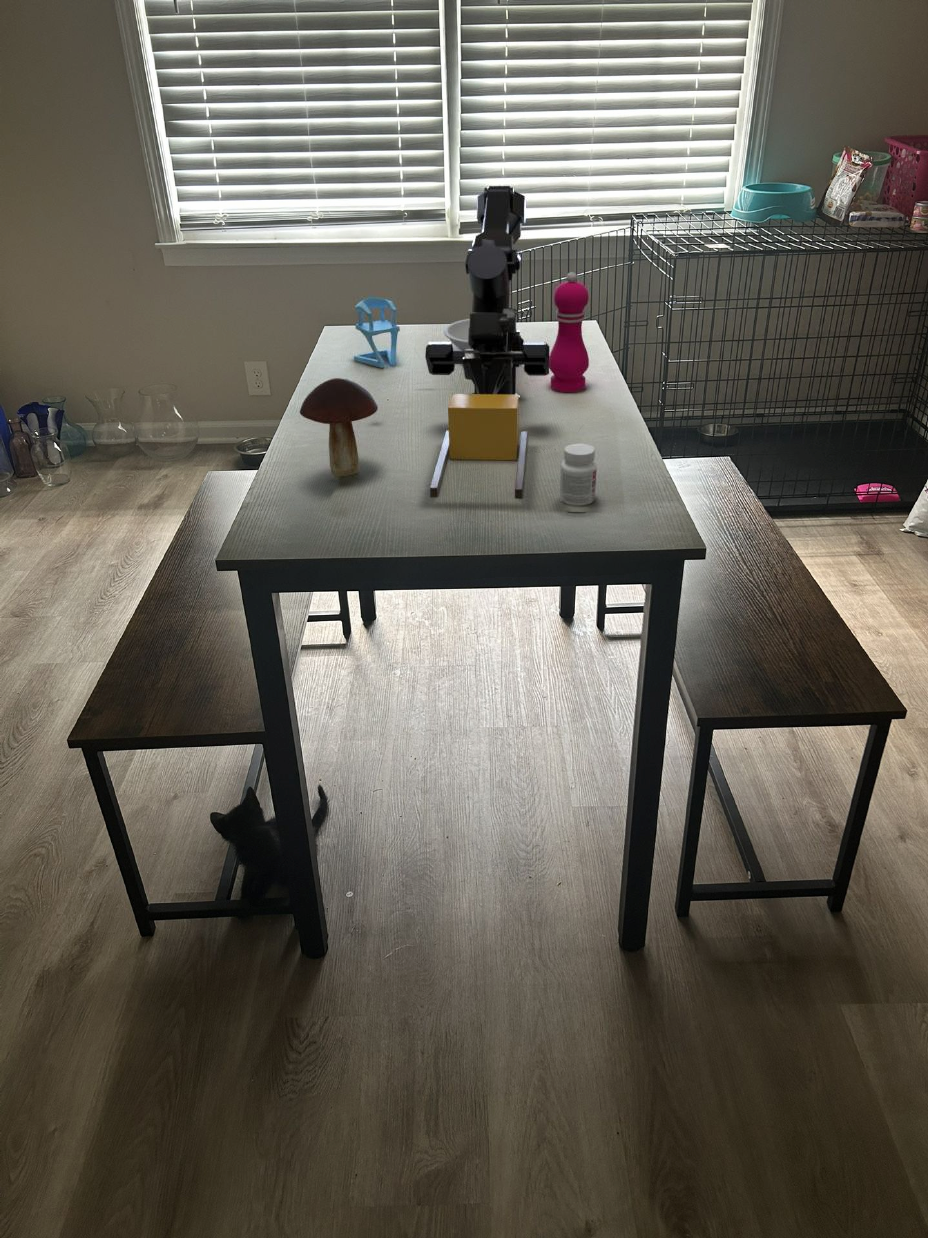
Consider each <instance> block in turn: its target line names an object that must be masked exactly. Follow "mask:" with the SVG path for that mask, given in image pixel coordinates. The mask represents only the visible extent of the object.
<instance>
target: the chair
mask: <svg viewBox="0 0 928 1238" xmlns="http://www.w3.org/2000/svg"><path fill="white" fill-rule="evenodd" d="M386 307H388V308H389V309H390V312H391V313H392V314H391V317H390V321H388V320H387V319H386V317H385V308H386ZM354 308H355V310H356V313H357V315H358V323H355V324H354V326H355V330H357V331H359V332H361V334H362V335H363V336H364V337H365V339H366V341H367V343H368V345H369V346H370V348H371V351H372V352H371V351H370V352H366V353H360V354H355V355H353V361H355V362H358V363H361V364H366V365H370V366H373V367H377V368H380V369H385V361H384V359H383V357H382V356H387V361H388V363H389V364H390V366H393V367H395V366H397V342H398V334H399V332H401V328H400V325H398V324H396V314H397V308H396V307H395V305H394V302H393V301H391V300H389V299H386V298H381V297H376V296H375V297H374V296H369V297H366V298H365V299H363V300H361V301H360V302H358V303H357V304H356V305H355V307H354ZM375 308H376V309H380V311H379V312H380V313H379V314H380V315H379V317H380V319H379V320H375V321H374V320H373V313H372V311H371V310H370V309H375ZM362 312H363V313H364V315H366V317H367V318H368V322H364V316H363V314H362ZM386 333H390V349H382V350H378V348H377V346H376V345H375V342H374V339H373V336H374V337H375V336H379V335H381V334H386ZM374 358H375V359H374Z"/></svg>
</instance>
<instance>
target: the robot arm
mask: <svg viewBox="0 0 928 1238" xmlns="http://www.w3.org/2000/svg"><path fill="white" fill-rule="evenodd" d="M476 220H477V223H478V225H481V232H480V233H479V234H477V235H475V236H474V237H473V242H472V246H471V247H472V248H471V249H468V251H467V255H466V259H465V264H464V265H465V273H466V275H468V277H469V284H470V290H471V294H472V303H471V304H472V305H471V307H472V308H471V313H470V314H469V319H470V327H469V334H468V345H469V346H470V349H464V351H462V350H454V346H453V345H454V344H453V343H452V342H451V341H429V342H428V344H427V345H425V346H426V347H425V354H424V355H425V356H424V358H425V362H426V367H427V370H428V371H427V372H428V374H430V375H432V376H451V374H452V373H454V372H455V367H456V365H462V369H463V374H464V379H465V380H468V381H471V382H472V384H473V385H474V388H473V389H474V392H471V394H510V395H518V394H517V391H516V390H517V389H516V388H517V385H516V384H517V383H516V382H517V368H520V366H523V372H525V374H526V375H528V376H529V377H530V376H531V377H532V376H533V377H535V376H536V377H538V376H539V377H543V376H548V375H550V369H549V356H550V345H549V344H548V343H547V342H546V341H545V342H543V341H542V342H540V341H539V342H538V341H537V342H535V341H532V342H530V341H525V339H524V338H522V334H521V331H520V330H517V331H516V329H517V308H513V307H510V290H511V289H510V288H511V281H512V280H513V277H514V276H513V275H516V274H517V273H518V272H519V270H520V269H521V265H522V264H521V263H522V262H521V261H522V259H521V256H520V255H519V252H518V249H514V246H515V244H516V243H517V242H518V241H519V239H520V238H521V236H522V224H526V195H523V194H522V193H520V192H517V191H515V187H514V186H512V187H511V186H510V185H488V186H487V187H484V189H483V192H482V193H480V194H479V195H477V198H476ZM521 398H522V397H521V395H519V400H521Z"/></svg>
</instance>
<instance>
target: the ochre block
mask: <svg viewBox="0 0 928 1238" xmlns="http://www.w3.org/2000/svg"><path fill="white" fill-rule="evenodd" d="M450 396H451V397H450V400H449V403H448V407H447V421H448V423H447V424H448V431H449V460H467V461H468V460H469V461H471V460H473V461H476V460H477V461H478V460H479V461H480V460H481V461H489V460H490V461H518V455H519V444H520V440H519V437H520V436H519V433H520V432H519V431H520V429H519V427H520V426H519V422H520V421H519V420H520V419H519V418H520V417H519V416H520V399H519V396H520V394H517V395H510V394H472V393H452V394H451V395H450Z"/></svg>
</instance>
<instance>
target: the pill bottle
mask: <svg viewBox="0 0 928 1238" xmlns="http://www.w3.org/2000/svg"><path fill="white" fill-rule="evenodd" d="M595 450H596V449H595V447H594V446H592V445H590V444H586V443H571V444H569V445H566V446H565V447H564V449H563V451H564V452H563V460H562V462H561V465H560V477H559V478H560V479H559V500H560V501H561V502H562V503H564V504H566V505H570V506H576V507H577V506H578V507H579V506H581V507H582V506H587V505H590V504H592V503H593V502H594V501H595V500H596V484H597V469H598V468H597V467H598V466H597V463H596V462H595V457H596V456H595V455H596V454H595ZM568 513H569V514H578V515H579V514H587V513H588V512H587V511H568Z"/></svg>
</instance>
